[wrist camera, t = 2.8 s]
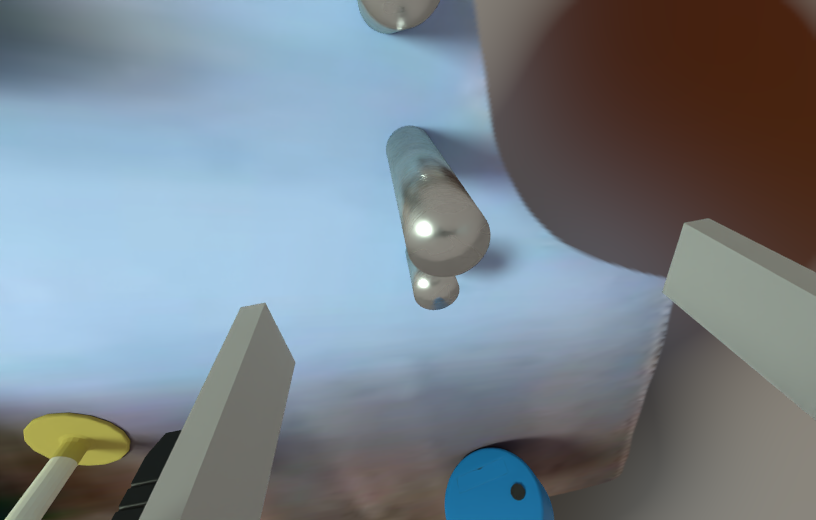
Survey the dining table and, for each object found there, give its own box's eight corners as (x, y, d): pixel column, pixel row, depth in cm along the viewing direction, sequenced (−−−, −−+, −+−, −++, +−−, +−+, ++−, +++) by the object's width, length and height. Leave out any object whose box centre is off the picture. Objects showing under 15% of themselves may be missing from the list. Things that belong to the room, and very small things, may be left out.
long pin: (390, 175, 26) (413, 283, 15) (381, 130, 24) (400, 212, 13) (434, 167, 26) (491, 268, 15) (428, 121, 24) (489, 195, 13)
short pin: (408, 269, 31) (417, 313, 26) (402, 238, 29) (410, 278, 24) (445, 262, 31) (461, 305, 26) (441, 230, 29) (457, 269, 24)
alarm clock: (451, 478, 54) (478, 612, 41) (434, 463, 50) (458, 602, 38) (529, 449, 51) (583, 581, 39) (517, 430, 48) (571, 568, 36)
